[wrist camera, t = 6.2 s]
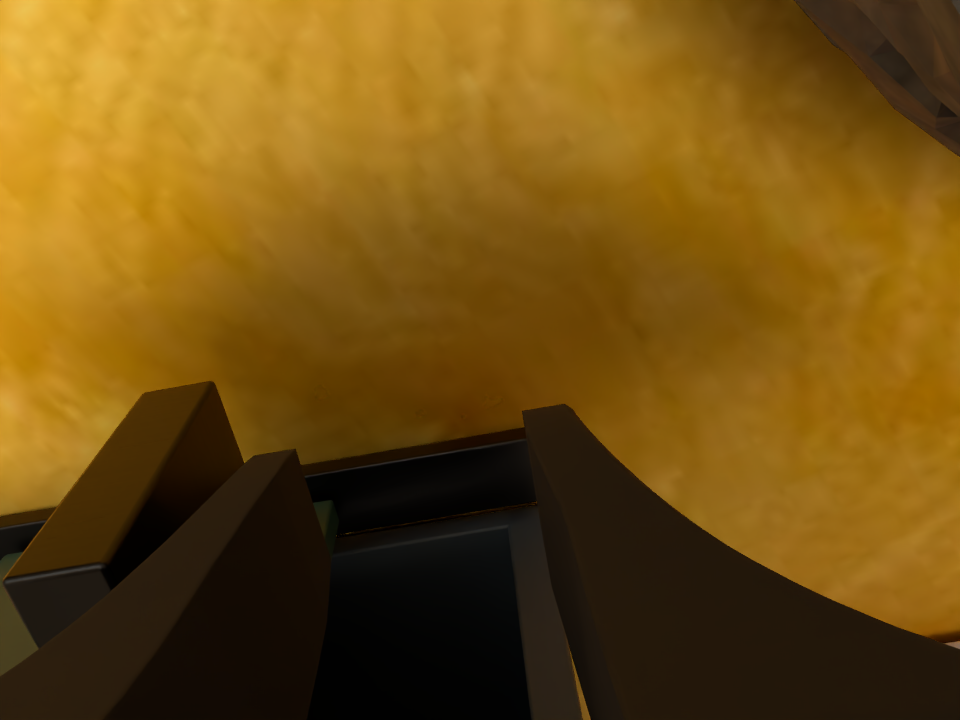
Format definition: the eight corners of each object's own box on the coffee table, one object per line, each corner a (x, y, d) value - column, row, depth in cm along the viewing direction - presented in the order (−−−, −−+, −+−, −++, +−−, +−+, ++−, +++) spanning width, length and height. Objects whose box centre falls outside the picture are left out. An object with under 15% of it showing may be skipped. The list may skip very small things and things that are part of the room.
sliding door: (277, 320, 14) (115, 641, 7) (340, 521, 16) (261, 927, 9) (-91, 385, 14) (-600, 759, 7) (16, 575, 16) (-303, 1011, 9)
